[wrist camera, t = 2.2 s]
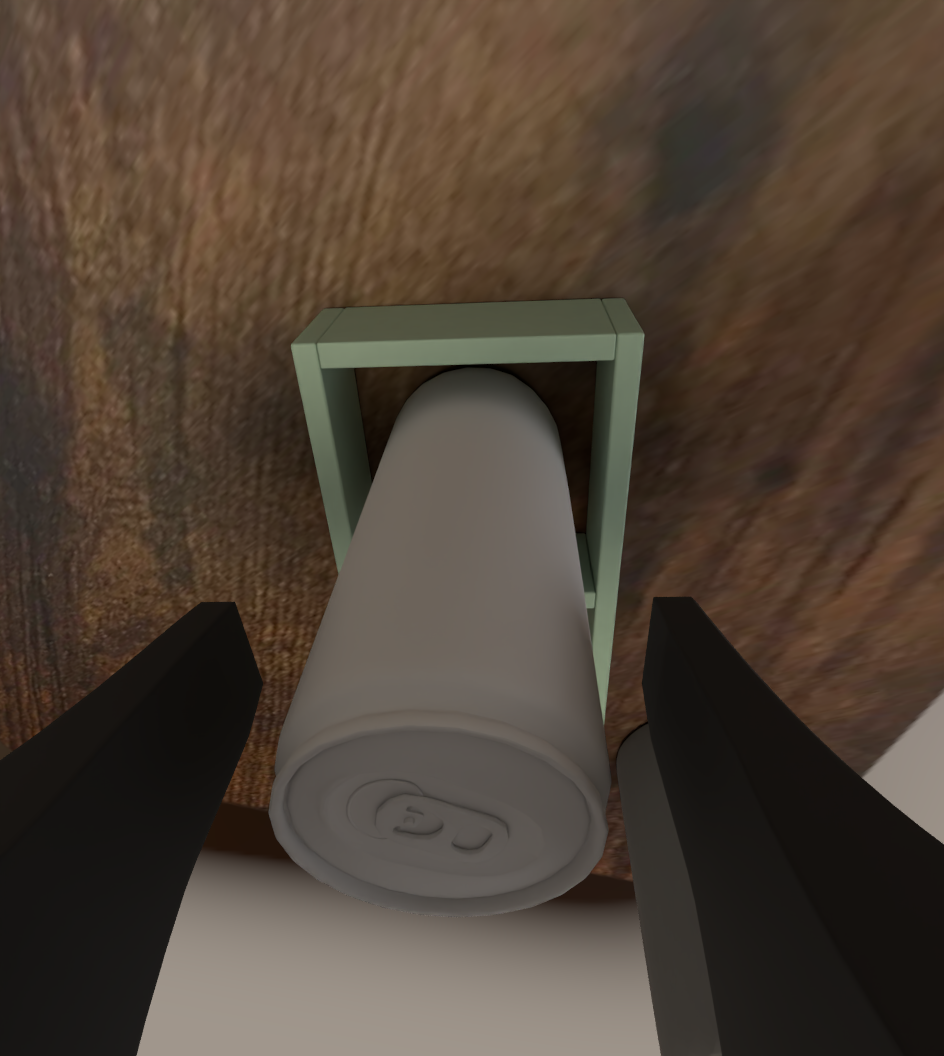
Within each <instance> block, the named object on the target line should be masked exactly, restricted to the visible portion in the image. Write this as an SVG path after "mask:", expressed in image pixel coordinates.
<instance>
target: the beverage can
mask: <svg viewBox="0 0 944 1056" xmlns="http://www.w3.org/2000/svg"><path fill="white" fill-rule="evenodd" d="M275 773H276V778H275V780H274V783H273V787H272V793H271V799H270V806H269V816H270V819H271V823H272V826H273V829H274V833H275V836H276V839H277V840H278V841H279V843H280V844H281V845H282V847H283V848H284V849H285V851H286V852H287V853H288V855H289V856H290V857H291V859H292V860H293V861H294V862H296V863H297V864H298V865H299V866H301V867H302V868H303V869H304V870H306V871H307V872H308V873H309V874H311V875H312V876H313V877H314V878H316V879H317V880H318V881H320V882H323V883H324V884H326V885H328V886H330V887H332V888H334V889H336V890H338V891H340V892H342V893H344V894H346V895H348V896H350V897H353V898H356V899H359V900H362V901H365V902H368V903H371V904H374V905H377V906H380V907H383V908H387V909H393V910H398V911H403V912H409V913H414V914H419V915H433V916H448V917H468V916H484V915H497V914H502V913H506V912H511V911H516V910H520V909H525V908H529V907H533V906H535V905H537V904H540V903H543V902H545V901H548V900H550V899H552V898H555V897H557V896H560V895H562V894H563V893H565V892H566V891H568V890H569V889H570V888H572V887H573V886H575V885H576V884H578V883H579V882H581V881H582V880H583V879H585V878H586V877H587V876H588V874H589V873H590V872H591V870H592V869H593V868H594V866H595V865H596V864H597V862H598V861H599V860H600V858H601V857H602V855H603V850H604V846H605V842H606V838H607V834H608V824H607V820H606V816H605V810H606V806H607V801H608V796H609V792H610V787H611V773H610V765H609V759H608V752H607V745H606V738H605V731H604V724H603V718H602V711H601V704H600V697H599V690H598V683H597V677H596V670H595V663H594V656H593V649H592V643H591V636H590V629H589V622H588V615H587V608H586V602H585V595H584V588H583V581H582V574H581V568H580V561H579V554H578V548H577V541H576V534H575V528H574V521H573V515H572V508H571V502H570V495H569V489H568V483H567V477H566V471H565V465H564V459H563V453H562V447H561V442H560V437H559V433H558V429H557V425H556V423H555V421H554V419H553V417H552V415H551V413H550V412H549V410H548V408H547V406H546V405H545V404H544V403H543V401H542V400H541V399H540V398H539V397H538V396H537V394H536V393H535V392H534V391H533V390H532V389H531V388H530V387H528V386H527V385H526V384H524V383H523V382H521V381H520V380H518V379H517V378H516V377H514V376H513V375H510V374H507V373H504V372H501V371H497V370H494V369H491V368H468V367H466V368H462V369H457V370H453V371H449V372H445V373H442V374H440V375H438V376H436V377H435V378H433V379H431V380H429V381H427V382H425V383H423V384H422V385H421V386H420V387H419V388H418V389H417V390H416V391H415V392H414V393H413V394H412V395H411V396H410V397H409V398H408V399H407V400H406V402H405V404H404V405H403V407H402V409H401V411H400V412H399V414H398V416H397V418H396V421H395V423H394V426H393V429H392V431H391V434H390V437H389V440H388V442H387V445H386V448H385V450H384V453H383V456H382V459H381V461H380V464H379V467H378V470H377V472H376V475H375V478H374V480H373V483H372V486H371V489H370V491H369V494H368V497H367V499H366V502H365V505H364V508H363V510H362V513H361V516H360V518H359V521H358V524H357V527H356V529H355V532H354V535H353V537H352V540H351V543H350V546H349V548H348V551H347V554H346V556H345V559H344V562H343V565H342V567H341V570H340V573H339V575H338V578H337V581H336V584H335V586H334V589H333V592H332V594H331V597H330V600H329V603H328V605H327V608H326V611H325V614H324V616H323V619H322V622H321V624H320V627H319V630H318V633H317V635H316V638H315V641H314V643H313V646H312V649H311V652H310V654H309V657H308V660H307V662H306V665H305V668H304V671H303V673H302V676H301V679H300V681H299V684H298V687H297V690H296V692H295V695H294V698H293V700H292V703H291V706H290V709H289V711H288V714H287V717H286V719H285V722H284V725H283V728H282V731H281V734H280V737H279V743H278V749H277V756H276V762H275Z"/></svg>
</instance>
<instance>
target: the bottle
mask: <svg viewBox="0 0 944 1056" xmlns="http://www.w3.org/2000/svg"><path fill="white" fill-rule="evenodd" d="M616 767H617V776H618V783H619V790H620V797H621V804H622V810H623V817H624V824H625V831H626V837H627V843H628V850H629V856H630V863H631V869H632V875H633V882H634V888H635V895H636V901H637V907H638V914H639V920H640V927H641V933H642V939H643V945H644V952H645V958H646V965H647V971H648V978H649V984H650V990H651V997H652V1003H653V1009H654V1015H655V1021H656V1027H657V1034H658V1040H659V1045H660V1051H661V1056H722V1053H721V1046H720V1040H719V1034H718V1028H717V1023H716V1017H715V1011H714V1005H713V999H712V994H711V988H710V982H709V976H708V970H707V965H706V959H705V954H704V948H703V943H702V938H701V932H700V927H699V921H698V916H697V911H696V905H695V900H694V896H693V892H692V888H691V883H690V879H689V875H688V871H687V867H686V864H685V860H684V857H683V853H682V849H681V846H680V842H679V839H678V835H677V832H676V828H675V825H674V821H673V817H672V814H671V810H670V807H669V803H668V800H667V796H666V793H665V789H664V785H663V782H662V778H661V775H660V771H659V767H658V764H657V760H656V756H655V753H654V749H653V745H652V742H651V737H650V731H649V725H648V724H646V725H644V726H642V727H641V728H639V729H638V730H637V731H635V732H634V733H632V734H631V735H630V736H629V737H628V738H627V739H626V740H625V742H624V743H623V744H622V746H621V747H620V749H619V752H618V756H617V764H616Z"/></svg>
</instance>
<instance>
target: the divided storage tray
mask: <svg viewBox="0 0 944 1056" xmlns="http://www.w3.org/2000/svg"><path fill="white" fill-rule="evenodd" d="M644 336H645V335H644V332H643V331H642V329H641V327H640V325H639V324H638V322H637V320H636V318H635V317H634V315H633V313H632V312H631V310H630V308H629V306H628V305H627V303H626V301H625V299H623V298H608V299H602V300H600V299H574V300H546V301H518V302H490V303H462V304H434V305H406V306H378V307H350V308H345V309H343V308H328V309H323V310H322V311H321V312H320V313H319V314H318V315H317V316H316V318H315V319H314V320H313V321H312V322H311V323H310V324H309V325H308V326H307V327H306V328H305V330H304V331H303V332H302V333H301V334H300V335H299V336H298V337H297V338H296V339H295V340H294V342H293V343H292V344H291V350H292V355H293V359H294V364H295V369H296V374H297V379H298V383H299V388H300V393H301V398H302V402H303V407H304V412H305V417H306V421H307V426H308V431H309V436H310V441H311V445H312V450H313V455H314V460H315V464H316V469H317V474H318V479H319V483H320V488H321V493H322V498H323V503H324V507H325V512H326V517H327V522H328V526H329V531H330V536H331V541H332V545H333V550H334V555H335V560H336V565H337V569H338V574H339V573H340V570H341V567H342V565H343V562H344V559H345V556H346V554H347V551H348V548H349V546H350V543H351V540H352V537H353V535H354V532H355V529H356V527H357V524H358V521H359V518H360V516H361V513H362V510H363V508H364V505H365V502H366V499H367V497H368V494H369V491H370V489H371V486H372V480H371V474H370V468H369V461H368V455H367V448H366V442H365V436H364V429H363V423H362V417H361V410H360V404H359V397H358V391H357V385H356V378H355V372H354V368H363V367H397V366H432V365H467V364H501V363H536V362H570V361H597V371H596V386H595V402H594V418H593V433H592V449H591V465H590V480H589V496H588V512H587V527H586V535H585V534H584V533H575V534H576V541H577V548H578V554H579V561H580V568H581V574H582V581H583V588H584V595H585V602H586V608H587V615H588V622H589V629H590V636H591V643H592V649H593V656H594V663H595V670H596V677H597V683H598V690H599V697H600V704H601V711H602V718H603V724H604V720H605V710H606V701H607V691H608V681H609V672H610V662H611V653H612V643H613V633H614V624H615V614H616V605H617V595H618V585H619V576H620V566H621V557H622V547H623V537H624V528H625V518H626V509H627V499H628V489H629V480H630V470H631V461H632V451H633V441H634V432H635V422H636V413H637V403H638V393H639V384H640V374H641V365H642V355H643V345H644Z"/></svg>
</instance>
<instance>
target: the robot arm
mask: <svg viewBox="0 0 944 1056" xmlns="http://www.w3.org/2000/svg"><path fill="white" fill-rule="evenodd" d="M262 686H263V682H262V679H261V676H260V673H259V670H258V667H257V664H256V662H255V659H254V656H253V653H252V650H251V647H250V644H249V641H248V638H247V636H246V633H245V630H244V627H243V624H242V621H241V618H240V615H239V612H238V610H237V607H236V604H235V602H201V603H200V604H198V605H197V606H196V607H194V608H193V609H192V610H191V611H189V612H188V613H187V614H186V615H184V616H183V617H182V618H181V619H179V620H178V621H177V622H176V623H175V624H173V625H172V626H171V627H170V628H168V629H167V630H166V631H165V632H164V633H163V634H161V635H160V636H159V637H158V638H157V639H155V640H154V641H153V642H152V643H151V644H149V645H148V646H147V647H146V648H145V649H144V650H142V651H141V652H140V653H139V654H138V655H136V656H135V657H134V658H133V659H131V660H130V661H129V662H128V663H127V664H125V665H124V666H123V667H122V668H121V669H119V670H118V671H117V672H116V673H115V674H113V675H112V676H111V677H110V678H108V679H107V680H106V681H105V682H104V683H102V684H101V685H100V686H99V687H98V688H96V689H95V690H94V691H92V692H91V693H90V694H89V695H87V696H86V697H85V698H83V699H82V700H81V701H79V702H78V703H77V704H76V705H74V706H73V707H72V708H70V709H69V710H68V711H66V712H65V713H64V714H63V715H61V716H60V717H59V718H57V719H56V720H55V721H53V722H52V723H51V724H50V725H48V726H47V727H46V728H44V729H43V730H42V731H40V732H39V733H38V734H37V735H35V736H34V737H32V738H31V739H30V740H28V741H27V742H25V743H24V744H23V745H21V746H20V747H18V748H17V749H16V750H14V751H13V752H11V753H10V754H8V755H7V756H6V757H4V758H3V759H2V760H0V1056H136V1055H137V1051H138V1047H139V1043H140V1040H141V1036H142V1032H143V1028H144V1025H145V1021H146V1017H147V1014H148V1010H149V1006H150V1004H151V1000H152V997H153V993H154V990H155V986H156V983H157V979H158V976H159V972H160V969H161V966H162V962H163V959H164V955H165V952H166V948H167V946H168V942H169V939H170V936H171V933H172V930H173V927H174V924H175V920H176V917H177V914H178V911H179V908H180V904H181V901H182V898H183V895H184V892H185V889H186V886H187V884H188V881H189V878H190V876H191V873H192V871H193V868H194V865H195V863H196V860H197V858H198V855H199V853H200V851H201V848H202V846H203V844H204V841H205V839H206V837H207V834H208V832H209V830H210V827H211V825H212V823H213V820H214V818H215V815H216V813H217V811H218V809H219V806H220V804H221V802H222V799H223V797H224V794H225V792H226V790H227V787H228V785H229V783H230V780H231V778H232V776H233V773H234V771H235V768H236V766H237V764H238V761H239V759H240V756H241V754H242V752H243V749H244V747H245V744H246V742H247V739H248V737H249V733H250V730H251V726H252V723H253V720H254V716H255V713H256V709H257V705H258V701H259V697H260V693H261V689H262ZM642 686H643V693H644V699H645V706H646V713H647V719H648V725H649V731H650V737H651V742H652V745H653V749H654V753H655V756H656V760H657V764H658V767H659V771H660V775H661V778H662V782H663V785H664V789H665V793H666V796H667V800H668V803H669V807H670V810H671V814H672V817H673V821H674V825H675V828H676V832H677V835H678V839H679V842H680V846H681V849H682V853H683V857H684V860H685V864H686V867H687V871H688V875H689V879H690V883H691V888H692V892H693V896H694V900H695V905H696V911H697V916H698V921H699V927H700V932H701V938H702V943H703V948H704V954H705V959H706V965H707V970H708V976H709V982H710V988H711V994H712V999H713V1005H714V1011H715V1017H716V1023H717V1028H718V1034H719V1040H720V1046H721V1053H722V1056H944V844H942V843H941V842H940V841H939V840H937V839H936V838H935V837H933V836H932V835H931V834H929V833H928V832H927V831H925V830H924V829H923V828H921V827H920V826H919V825H918V824H916V823H915V822H914V821H913V820H911V819H910V818H909V817H908V816H906V815H905V814H904V813H903V812H901V811H900V810H899V809H898V808H896V807H895V806H894V805H893V804H891V803H890V802H889V801H888V800H887V799H886V798H884V797H883V796H882V795H881V794H880V793H879V792H878V791H876V790H875V789H874V788H873V787H872V786H871V785H869V784H868V783H867V782H866V781H865V780H864V779H862V778H861V777H860V776H859V775H858V774H857V773H856V772H854V771H853V770H852V769H851V768H850V767H849V766H848V765H847V764H846V763H845V762H844V761H842V760H841V759H840V758H839V757H838V756H837V755H836V754H835V753H834V752H833V751H832V750H831V749H830V748H829V747H827V746H826V745H825V744H824V743H823V742H822V741H821V740H820V739H819V738H818V737H817V736H816V735H815V734H814V733H813V732H812V731H811V730H810V729H809V728H808V727H807V726H806V725H805V724H804V723H803V722H802V721H801V720H800V719H799V718H798V717H797V716H796V715H795V714H794V713H793V712H792V711H791V710H790V709H789V708H788V707H787V706H786V705H785V704H784V703H783V702H782V700H781V699H780V698H779V697H778V696H777V695H776V694H775V693H774V692H773V691H772V690H771V689H770V687H769V686H768V685H767V684H766V683H765V682H764V681H763V680H762V679H761V678H760V677H759V676H758V674H757V673H756V672H755V671H754V670H753V669H752V668H751V667H750V666H749V664H748V663H747V662H746V661H745V660H744V659H743V658H742V656H741V655H740V654H739V653H738V652H737V651H736V649H735V648H734V647H733V646H732V645H731V644H730V642H729V641H728V640H727V639H726V638H725V636H724V635H723V634H722V633H721V632H720V630H719V629H718V628H717V627H716V626H715V624H714V623H713V622H712V621H711V619H710V618H709V617H708V616H707V615H706V613H705V612H704V611H703V610H702V608H701V607H700V606H699V605H698V603H697V602H696V601H695V600H694V599H693V598H692V597H653V604H652V612H651V619H650V627H649V634H648V642H647V650H646V657H645V665H644V672H643V680H642Z"/></svg>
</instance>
